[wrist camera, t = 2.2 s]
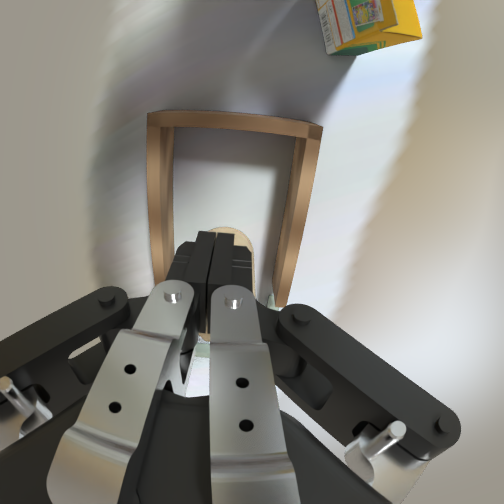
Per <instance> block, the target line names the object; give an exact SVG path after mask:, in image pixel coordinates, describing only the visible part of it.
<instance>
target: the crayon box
mask: <svg viewBox="0 0 504 504" xmlns="http://www.w3.org/2000/svg"><path fill="white" fill-rule="evenodd" d="M315 1H316V5H317V9H318V14H319V18H320V23H321V27H322V32H323V36H324V41H325V46H326V52H327V54H328V55H355V56H358V55H361V54H364V53H368V52H371V51H374V50H378V49H381V48H385V47H389V46H393V45H397V44H401V43H405V42H410V41H415V40H419V39H422V33H421V28H420V24H419V20H418V16H417V12H416V8H415V4H414V1H413V0H315Z"/></svg>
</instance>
